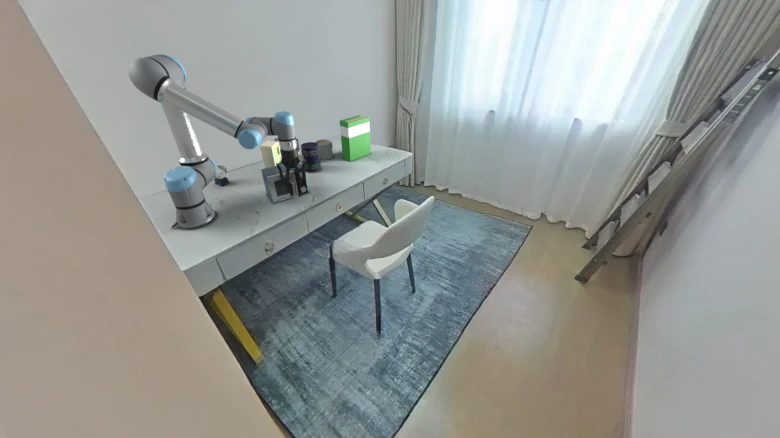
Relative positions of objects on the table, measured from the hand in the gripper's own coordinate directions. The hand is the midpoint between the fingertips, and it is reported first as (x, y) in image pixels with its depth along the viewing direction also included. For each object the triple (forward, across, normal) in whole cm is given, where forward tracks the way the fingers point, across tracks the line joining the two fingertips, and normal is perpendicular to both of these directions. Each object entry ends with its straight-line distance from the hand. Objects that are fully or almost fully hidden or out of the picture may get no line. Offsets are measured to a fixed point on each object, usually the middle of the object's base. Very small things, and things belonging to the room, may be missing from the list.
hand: (296, 194), depth 153 cm
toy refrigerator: (+5, -5, +30) cm, 30 cm away
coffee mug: (+4, +30, +52) cm, 60 cm away
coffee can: (+5, +8, +50) cm, 51 cm away
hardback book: (+4, +48, +44) cm, 65 cm away
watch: (+6, -33, +38) cm, 50 cm away
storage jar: (+5, +16, +35) cm, 39 cm away
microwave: (+4, -3, +10) cm, 12 cm away
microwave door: (+4, -4, +2) cm, 6 cm away
